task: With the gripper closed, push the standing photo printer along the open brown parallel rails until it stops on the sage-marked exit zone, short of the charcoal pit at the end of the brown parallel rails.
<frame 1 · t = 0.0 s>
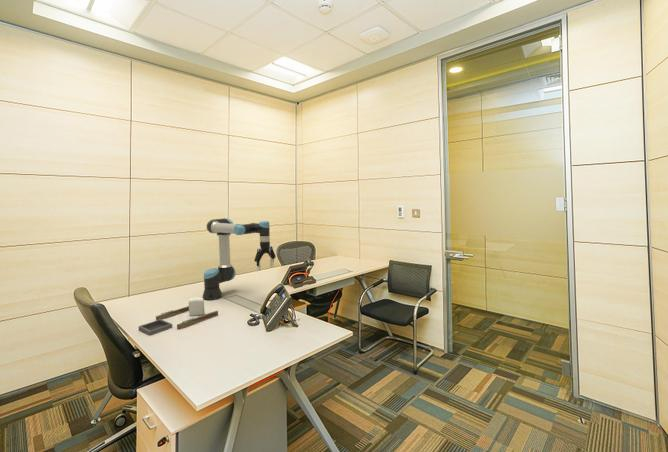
hand: (265, 268, 249), 28 cm above the table, tool pointing down, fingers open, 13 cm apart
pit: (155, 328, 206), on the table
brown parallel rails: (187, 317, 224), on the table
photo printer: (196, 314, 230), on the table
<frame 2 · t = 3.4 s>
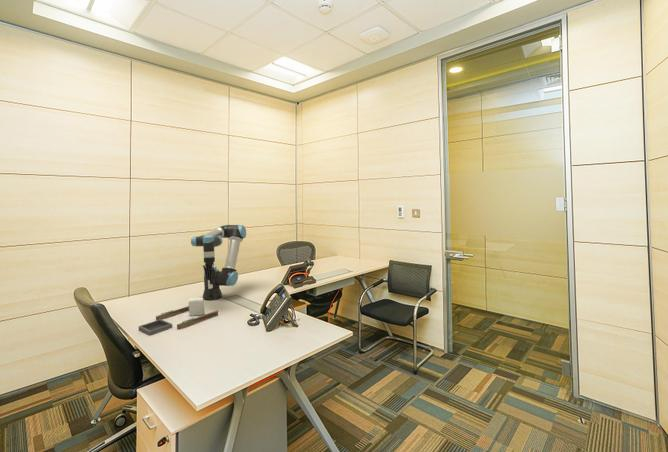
hand: (210, 288, 238), 16 cm above the table, tool pointing down, fingers closed
nothing on the table moved.
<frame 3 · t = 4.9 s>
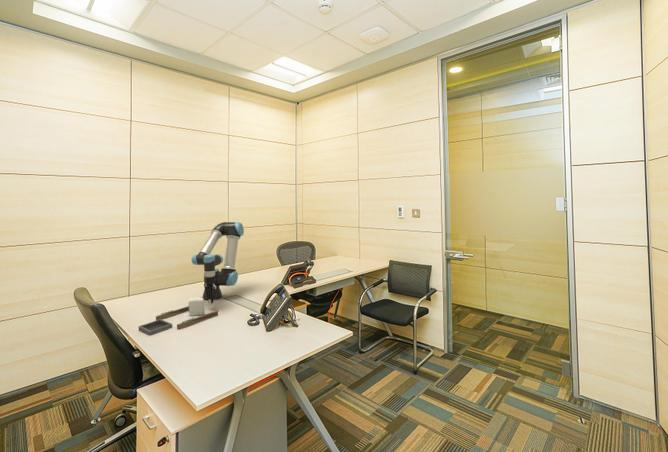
hand: (211, 307, 240), 2 cm above the table, tool pointing down, fingers closed
nothing on the table moved.
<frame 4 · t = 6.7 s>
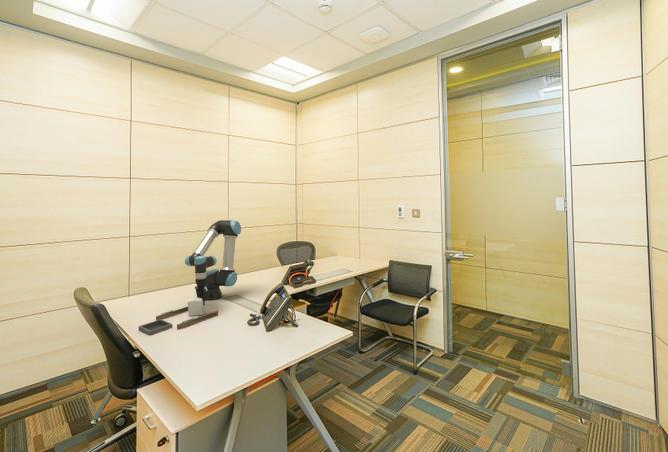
hand: (202, 309, 233), 2 cm above the table, tool pointing down, fingers closed
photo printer: (196, 315, 230), on the table, touching gripper, hand
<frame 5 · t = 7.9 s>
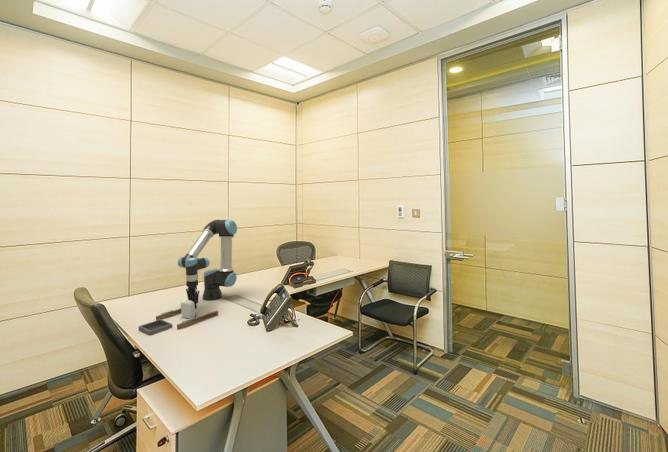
hand: (193, 312, 228), 2 cm above the table, tool pointing down, fingers closed
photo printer: (188, 317, 225), on the table, touching gripper
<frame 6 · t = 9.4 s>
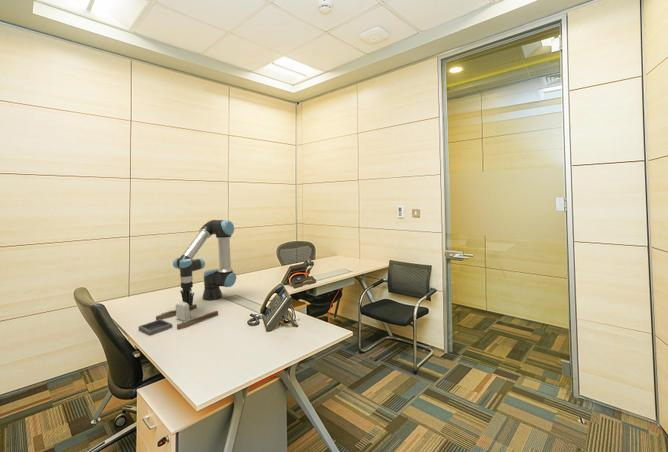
hand: (188, 314, 225), 2 cm above the table, tool pointing down, fingers closed
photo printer: (183, 319, 222), on the table
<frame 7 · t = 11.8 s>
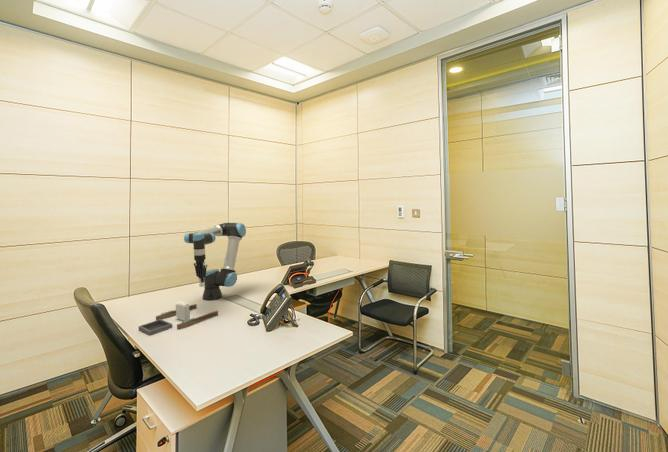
hand: (201, 286, 234), 19 cm above the table, tool pointing down, fingers closed
nothing on the table moved.
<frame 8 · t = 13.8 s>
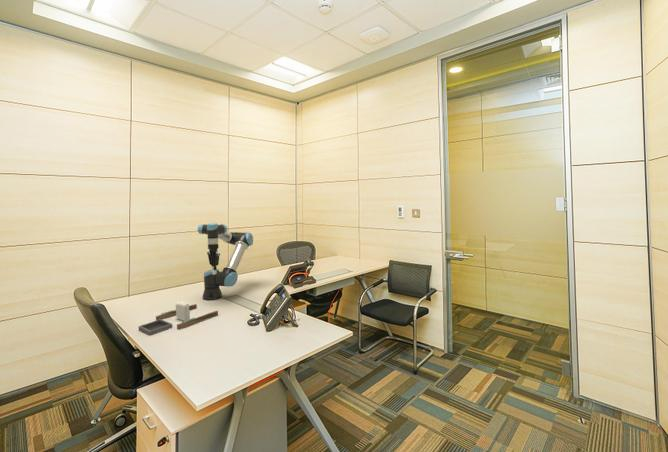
hand: (214, 274, 247), 24 cm above the table, tool pointing down, fingers closed
nothing on the table moved.
at the end: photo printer inside the target area (3.8 cm from its centre), on the table; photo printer tilted 0°; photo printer touching table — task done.
